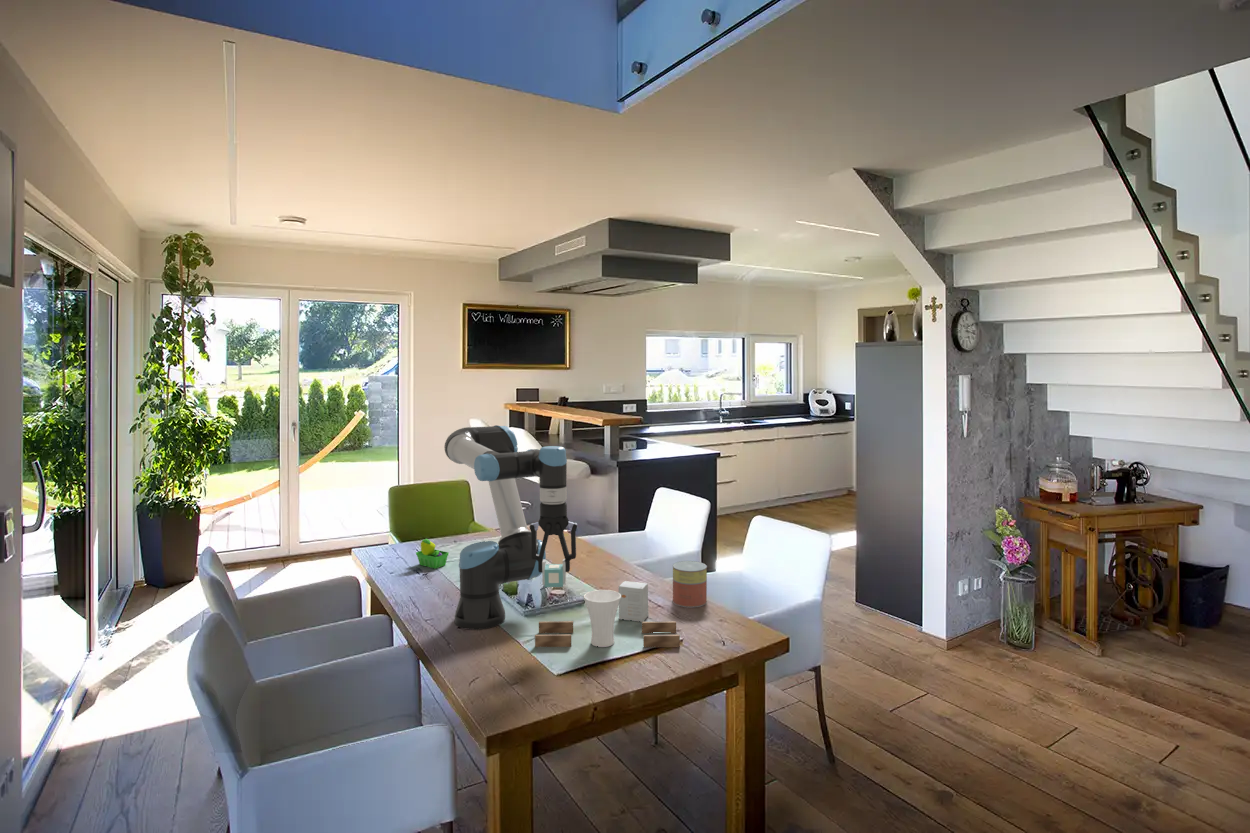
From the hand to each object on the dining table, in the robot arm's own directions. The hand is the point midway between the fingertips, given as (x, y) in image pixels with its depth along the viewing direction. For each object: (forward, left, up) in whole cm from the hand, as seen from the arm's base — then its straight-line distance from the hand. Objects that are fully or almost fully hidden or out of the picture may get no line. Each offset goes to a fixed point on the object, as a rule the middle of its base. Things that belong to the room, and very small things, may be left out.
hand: (554, 582), depth 192 cm
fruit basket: (-54, +73, -17) cm, 92 cm away
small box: (+23, +16, -17) cm, 33 cm away
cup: (+14, -3, -17) cm, 22 cm away
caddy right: (+30, -1, -16) cm, 34 cm away
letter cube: (0, 0, 0) cm, 0 cm away
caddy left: (0, 0, -16) cm, 16 cm away
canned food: (+42, +30, -17) cm, 54 cm away
